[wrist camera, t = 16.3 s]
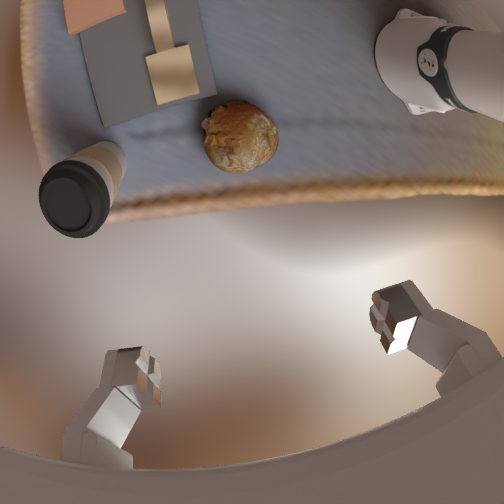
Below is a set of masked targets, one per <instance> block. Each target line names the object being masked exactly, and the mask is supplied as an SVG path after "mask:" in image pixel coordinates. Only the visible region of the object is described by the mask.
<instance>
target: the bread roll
mask: <svg viewBox="0 0 504 504" xmlns="http://www.w3.org/2000/svg"><path fill="white" fill-rule="evenodd" d="M202 127H203V128H204V132H205V134H206V137H205V139H204V144H203V147H204V148H205V151H206V153H207V156H208V157H209V159H210V161H211V162H212V163H213V164H214V165H215V166H216V167H218V168H219V169H221V170H223V171H226V172H228V173H245V172H248V171H250V170H252V169H253V168H255V167H258V166H260V165H262V164H263V163H265V162H267V161H268V160H270V159H271V158H272V157H273V155H274V154H275V152H276V150H277V147H278V142H279V136H278V130H277V127H276V125H275V123H274V122H273V121H272V120H271V119H270V118H269V116H267V115H266V114H265V113H264V112H263V111H261V110H260V109H259V108H258V107H256V106H255V105H252V104H250V103H249V102H244V101H238V100H235V101H231V102H228V103H225V104H222V105H220V106H218V107H217V108H215V109H212V110H210V111H208V118H205V119H204V121H203V122H202ZM211 132H212V133H211Z"/></svg>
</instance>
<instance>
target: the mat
mask: <svg viewBox="0 0 504 504" xmlns="http://www.w3.org/2000/svg"><path fill="white" fill-rule="evenodd" d="M125 2H126V8H127V12H125V13H123V14H120V15H117V16H115V17H112V18H110V19H108V20H105V21H103V22H101V23H98V24H96V25H94V26H92V27H90V28H87V29H85V30H83V31H81V32H79V33H80V38H81V43H82V47H83V52H84V56H85V60H86V65H87V69H88V73H89V77H90V80H91V84H92V88H93V92H94V95H95V99H96V102H97V106H98V109H99V113H100V116H101V119H102V122H103V126H104V129H107V128H109V127H112V126H115V125H117V124H120V123H122V122H125V121H128V120H131V119H134V118H137V117H139V116H142V115H145V114H148V113H152V112H155V111H158V110H161V109H164V108H168V107H171V106H175V105H178V104H182V103H185V102H189V101H193V100H197V99H201V98H205V97H209V96H214V95H218V93H217V89H216V84H215V80H214V75H213V71H212V66H211V62H210V57H209V53H208V48H207V44H206V39H205V35H204V30H203V26H202V21H201V17H200V12H199V8H198V3H197V0H165V2H166V7H167V12H168V16H169V21H170V25H171V30H172V34H173V39H174V43H175V47H176V48H177V47H181V46H184V45H188V44H189V48H190V52H191V57H192V61H193V66H194V70H195V74H196V79H197V83H198V87H199V92H200V93H199V94H195V95H191V96H187V97H184V98H180V99H176V100H173V101H170V102H166V103H163V104H160V105H157V101H156V97H155V94H154V90H153V86H152V82H151V78H150V74H149V70H148V66H147V62H146V58H145V57H147V56H150V55H153V54H156V53H157V52H156V50H155V45H154V41H153V37H152V32H151V28H150V23H149V19H148V14H147V9H146V4H145V0H125Z"/></svg>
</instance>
